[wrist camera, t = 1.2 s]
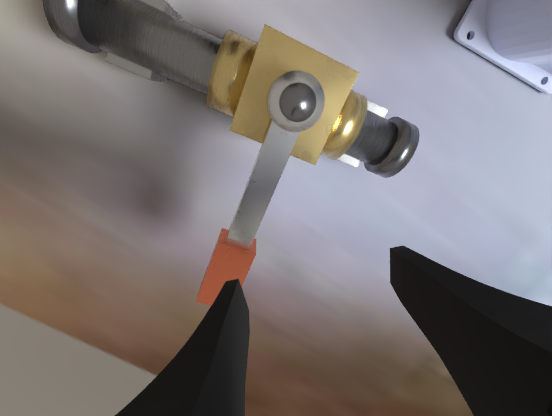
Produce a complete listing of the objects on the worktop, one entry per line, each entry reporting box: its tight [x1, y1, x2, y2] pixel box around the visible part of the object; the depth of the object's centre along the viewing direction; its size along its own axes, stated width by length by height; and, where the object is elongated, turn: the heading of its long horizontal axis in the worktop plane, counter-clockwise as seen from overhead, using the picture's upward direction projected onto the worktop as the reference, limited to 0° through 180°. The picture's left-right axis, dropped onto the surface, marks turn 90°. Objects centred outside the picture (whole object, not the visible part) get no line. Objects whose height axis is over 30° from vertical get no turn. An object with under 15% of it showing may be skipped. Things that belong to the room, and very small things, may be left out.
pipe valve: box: [43, 0, 419, 177], centre depth 15 cm, size 20×5×6 cm, turn 67°
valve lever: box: [196, 70, 325, 305], centre depth 14 cm, size 14×3×2 cm, turn 157°
